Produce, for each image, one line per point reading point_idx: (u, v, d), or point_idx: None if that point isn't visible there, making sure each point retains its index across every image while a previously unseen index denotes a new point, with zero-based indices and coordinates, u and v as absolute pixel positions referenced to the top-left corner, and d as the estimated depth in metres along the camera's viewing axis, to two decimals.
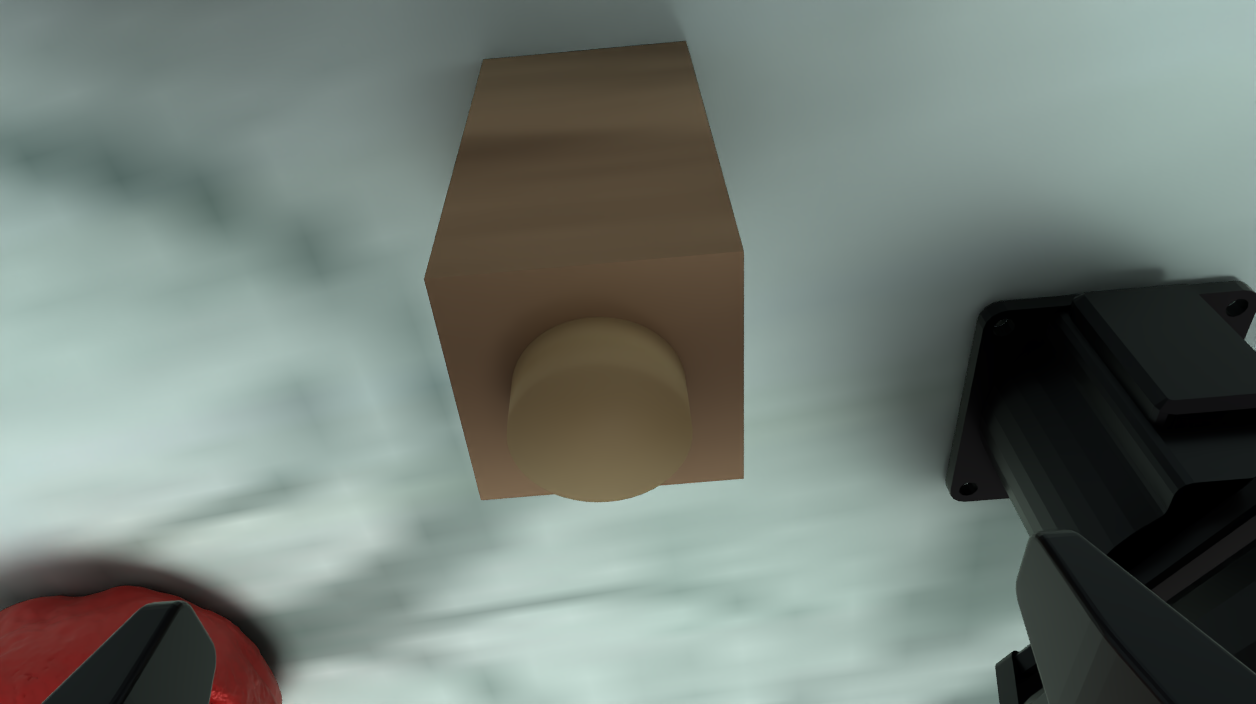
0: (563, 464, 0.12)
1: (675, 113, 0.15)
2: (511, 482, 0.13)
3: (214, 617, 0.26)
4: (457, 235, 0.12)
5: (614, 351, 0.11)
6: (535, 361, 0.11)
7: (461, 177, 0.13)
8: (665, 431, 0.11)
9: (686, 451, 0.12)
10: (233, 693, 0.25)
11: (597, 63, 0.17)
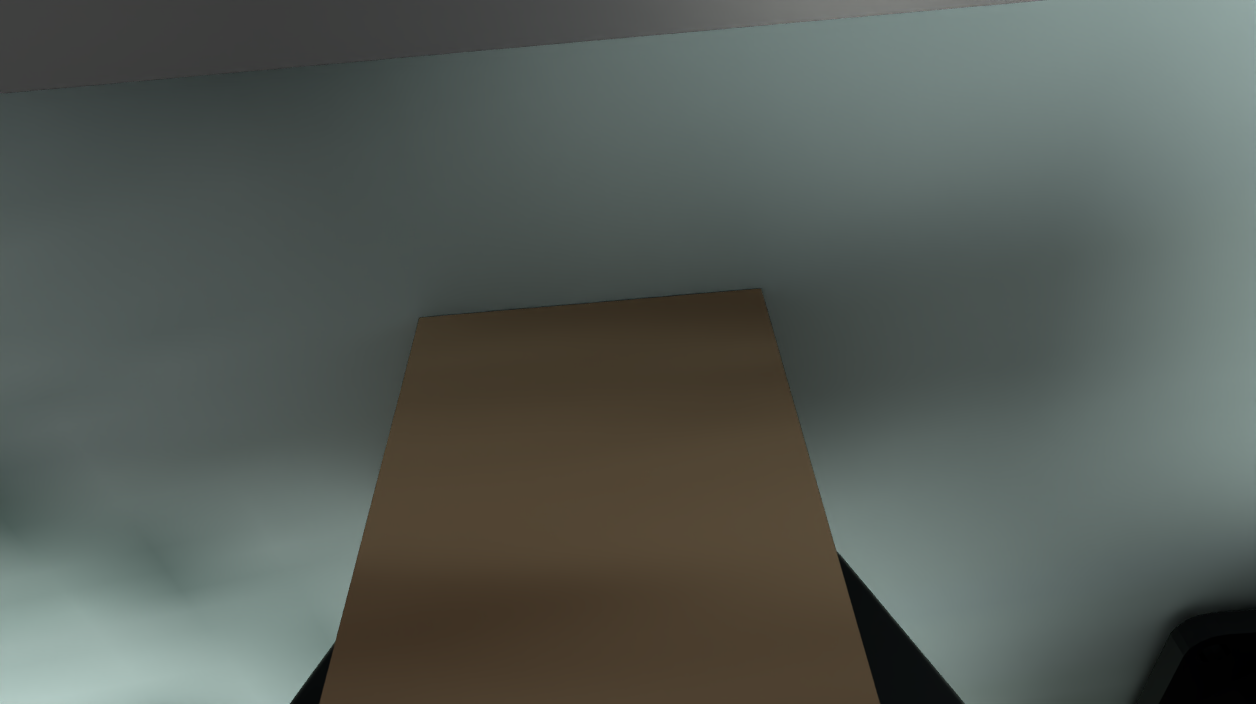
0: None
1: (768, 523, 0.08)
2: None
3: None
4: None
5: None
6: None
7: None
8: None
9: None
10: None
11: (612, 342, 0.10)
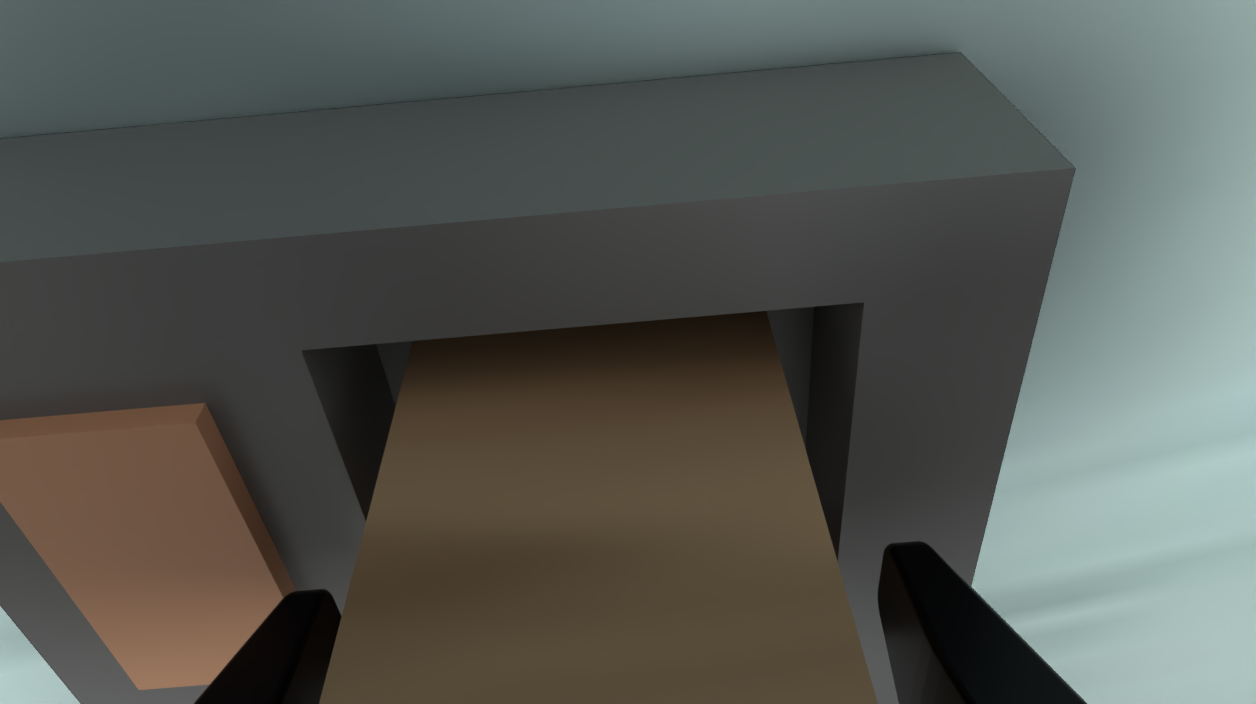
0: None
1: (757, 486, 0.08)
2: None
3: None
4: None
5: None
6: None
7: (343, 686, 0.07)
8: None
9: None
10: None
11: None
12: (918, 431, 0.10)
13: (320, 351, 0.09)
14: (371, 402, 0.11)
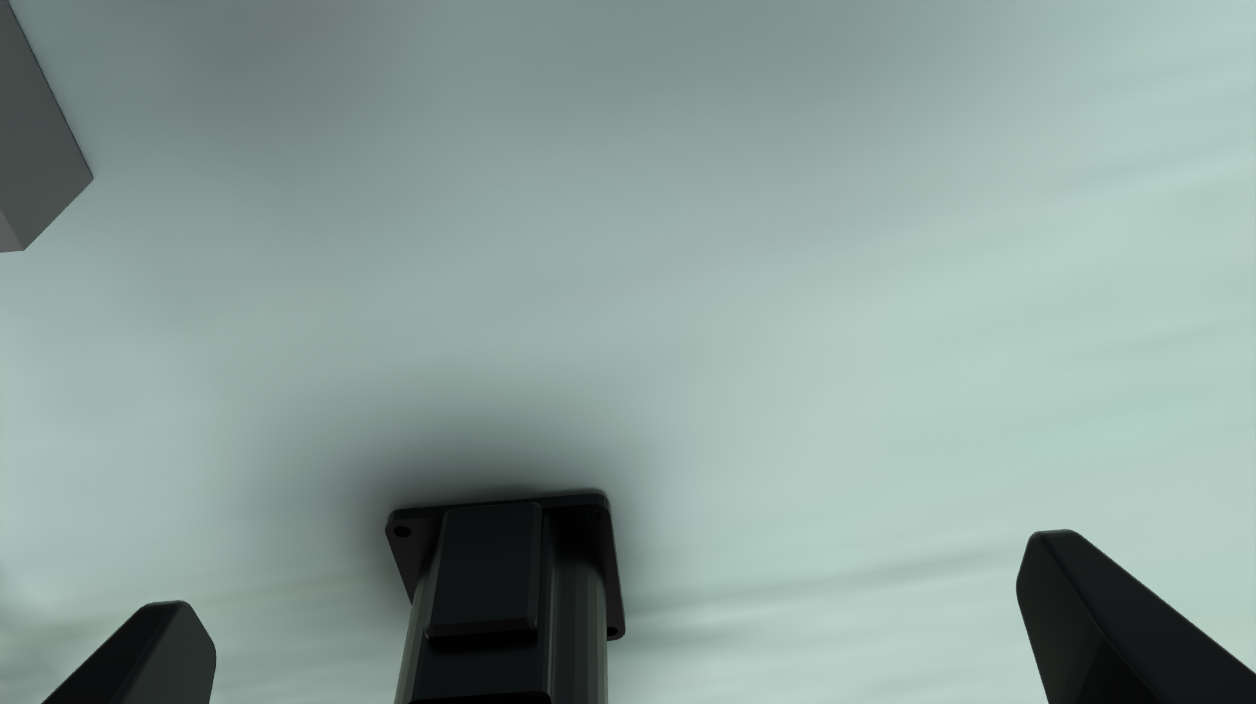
0: None
1: None
2: None
3: None
4: None
5: None
6: None
7: None
8: None
9: None
10: None
11: None
12: None
13: None
14: None
